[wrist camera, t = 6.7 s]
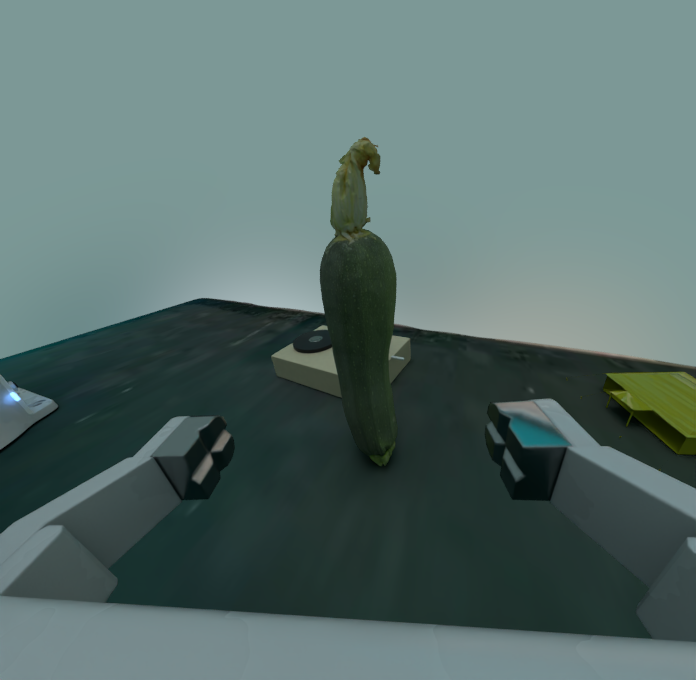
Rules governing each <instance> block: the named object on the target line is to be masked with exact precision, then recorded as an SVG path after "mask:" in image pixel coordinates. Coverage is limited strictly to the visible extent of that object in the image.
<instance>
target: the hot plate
mask: <svg viewBox="0 0 696 680" xmlns="http://www.w3.org/2000/svg"><path fill="white" fill-rule="evenodd" d="M316 330H328V328H327V326H323V325H322V326H321V327H319V328H317V329H316ZM316 330H314V331H316ZM271 357H272V361H273V364H274V367H275V371H276V374H277V376H279V377H282V378H285V379H288V380H291V381H294V382H297V383H299V384H302V385H305V386H308V387H311V388H314V389H317V390H320V391H323V392H326V393H329V394H332V395H335V396H338V397H341V390H340V384H339V379H338V374H337V370H336V365H335V361H334V356H333V350H332V348H330V349H327V350H325V351H322V352H317V353H300V352H297V351H295V350H294V348H293V343H292V344H290V345H289V346H287V347H285V348H284V349H282V350H280V351H279V352H277V353H275V354H273V355H272V356H271ZM410 360H411V351H410V338H405V337H398V336H392V339H391V344H390V348H389V378H390V384H391V383H392V381H393V380H394V379H395V378H396V377H397V375H398V374H399V373H400V372H401V371H402V369H403V368H404V367H405V366H406V365H407V363H408V362H409V361H410ZM341 398H342V397H341Z"/></svg>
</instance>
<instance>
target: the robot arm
mask: <svg viewBox="0 0 696 680" xmlns="http://www.w3.org/2000/svg"><path fill="white" fill-rule="evenodd" d="M57 407H58V405H57V404H56V403H55V402H54V401H53V400H51V399H48V398H46V397H43V396H40V395H37V394H35V393H32V392H29V391H27V390H24V389H21V388H18V386H17V385H16V384H15V383H14V382H13V383H12V382H11V381H9V382H6V380H5V379H4V378H3V377H2V376H1V375H0V449H2V448H3V447H5V446H6V445H8V444H9V443H10V442H12V441H13V440H14V439H16V438H17V437H18V436H19V435H21V434H22V433H23V432H24V431H25V430H26V429H27V428H29V427H30V426H31V425H32V424H34V423H35V422H36V421H38V420H40V419H41V418H43V417H45V416H46V415H48V414H49V413H51V412H52V411H54V410H55V409H56V408H57ZM487 414H488V416H489V418H490V420H491V421H490V422H489V423H488V424H487V425H486V428H485V439H486V445H487V448H488V451H489V454H490V456H491V458H492V460H493V461H494V462H496V463H497V464H498V465H500V466H501V472H500V476H501V478H502V480H503V482H504V484H505V486H506V488H507V490H508V492H509V494H510V496H511V498H512V500H540V501H550V503H551V504H552V505H553V506H554V507H556V508H557V509H558V510H559V511H560V512H561V513H563V514H564V515H565V516H566V517H567V518H568V519H570V520H571V521H572V522H573V523H574V524H575V525H577V526H578V527H579V528H580V529H581V530H582V531H584V532H585V533H586V534H587V535H588V536H589V537H591V538H592V539H593V540H594V541H595V542H596V543H598V544H599V545H600V546H601V547H602V548H603V549H605V550H606V551H607V552H608V553H609V554H610V555H612V556H613V557H614V558H615V559H616V560H617V561H619V562H620V563H621V564H622V565H623V566H624V567H626V568H627V569H628V570H629V571H630V572H631V573H633V574H634V575H635V576H636V577H637V578H638V579H640V580H641V581H642V582H643V583H644V584H645V585H647V586H648V587H649V588H650V589H649V590H648V591H647V593H646V594H645V595H644V597H643V598H642V600H641V601H640V602H639V604H638V606H637V609H636V614H637V616H638V617H639V619H640V620H641V622H642V623H643V625H644V626H645V628H646V629H647V631H648V633H649V634H650V636H651V637H652V639H644V638H629V637H614V636H599V635H584V634H569V633H554V632H539V631H524V630H509V629H494V628H479V627H464V626H449V625H434V624H419V623H404V622H389V621H374V620H359V619H344V618H329V617H314V616H299V615H284V614H269V613H253V612H238V611H223V610H208V609H193V608H178V607H163V606H148V605H133V604H117V603H105V602H106V601H107V599H108V598H109V596H110V595H111V593H112V592H113V590H114V589H115V587H116V586H117V580H118V579H117V578H116V577H115V576H114V575H113V574H112V573H111V572H110V571H109V570H108V568H110V567H111V566H112V565H113V564H114V563H115V562H116V561H117V560H118V559H119V558H121V557H122V556H123V555H124V554H125V553H126V552H127V551H128V550H129V549H130V548H132V547H133V546H134V545H135V544H136V543H137V542H138V541H139V540H140V539H141V538H142V537H144V536H145V535H146V534H147V533H148V532H149V531H150V530H151V529H152V528H153V527H155V526H156V525H157V524H158V523H159V522H160V521H161V520H162V519H163V518H164V517H166V516H167V515H168V514H169V513H170V512H171V511H172V510H173V509H174V508H175V507H177V506H178V505H179V504H180V503H181V502H182V501H181V500H199V499H209V497H210V495H211V494H212V492H213V490H214V489H215V487H216V485H217V483H218V482H219V480H220V471H221V470H223V469H224V468H225V467H226V466H228V465H229V463H230V461H231V459H232V457H233V453H234V448H235V446H234V440H233V437H232V435H231V434H230V433H228V432H227V431H226V430H225V428H226V426H227V424H226V422H225V420H224V418H223V417H222V416H219V415H210V416H178V417H175V418H172V419H171V420H170V421H169V422H168V423H167V424H166V425H165V426H164V427H163V428H162V429H161V430H160V431H159V432H158V433H157V434H156V435H155V436H154V437H153V438H152V439H151V440H150V441H149V442H148V443H147V444H146V445H145V446H144V447H143V448H142V449H141V450H140V451H139V452H138V453H137V454H136V455H135V456H134V457H133V458H127V459H125V460H123V461H121V462H120V463H118V464H116V465H114V466H113V467H111V468H109V469H107V470H106V471H104V472H102V473H100V474H99V475H97V476H95V477H93V478H91V479H90V480H88V481H86V482H84V483H83V484H81V485H79V486H77V487H76V488H74V489H72V490H70V491H69V492H67V493H65V494H63V495H62V496H60V497H58V498H56V499H55V500H53V501H51V502H49V503H48V504H46V505H44V506H42V507H41V508H39V509H37V510H35V511H34V512H32V513H30V514H28V515H27V516H25V517H23V518H21V519H19V520H18V521H16V522H14V523H13V524H12V525H11V526H9V527H8V528H7V529H6V530H5V531H4V532H2V533H1V534H0V680H696V489H695V488H693V487H691V486H689V485H687V484H685V483H683V482H681V481H679V480H676V479H674V478H672V477H670V476H668V475H666V474H664V473H662V472H660V471H658V470H656V469H654V468H652V467H650V466H648V465H646V464H644V463H642V462H639V461H637V460H635V459H633V458H631V457H629V456H627V455H625V454H623V453H621V452H619V451H617V450H615V449H613V448H611V447H609V446H600V445H599V444H598V443H597V442H596V441H595V440H594V439H593V438H592V437H591V436H590V435H589V434H588V433H587V432H586V431H585V430H584V429H583V428H582V427H581V426H580V425H579V424H578V423H577V422H576V421H575V420H574V419H573V418H572V417H571V416H570V415H569V414H568V413H567V412H566V411H565V410H564V409H563V408H562V407H561V406H560V405H559V404H558V403H557V402H556V401H554V400H552V399H537V400H529V401H508V402H490V404H489V406H488V411H487Z"/></svg>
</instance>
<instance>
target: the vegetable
mask: <svg viewBox="0 0 696 680" xmlns="http://www.w3.org/2000/svg"><path fill="white" fill-rule="evenodd" d="M375 146H376V147H378V146H377V145H373V144H372V143H371V142H370V140H369V139H368V138H366V137H364V138H362V139H361V140H360V139H359V140H358V142H355V143H354V144H353V146H351V148H350V150H349V151H348V152H347V154H346V155H344V156H343V157H342V158H341V159H340V160H339V162H340V163H341V164H342V166H341V167H340V168H339V170H338V171H337V172H336V174H337V176H336V178H335V180H334V183H333V188H332V206H331V220H330V222H331V225H332V227H333V228H334V229H335V230H336V233H335V238H334V239H333V240H332V241H331V242H330V243H329V245H328V246H327V247H326V250H325V252H324V255H323V258H322V261H321V266H320V284H321V292H322V300H323V305H324V311H325V317H326V322H327V328H328V332H329V335H330V339H331V343H332V350H333V356H334V361H335V365H336V370H337V374H338V379H339V384H340V390H341V397H342V404H343V408H344V412H345V416H346V419H347V422H348V425H349V427H350V430H351V432H352V435H353V438H354V440H355V443H356V445H357V446H358V448H359V449H360V450H361V451H362V452H363V453H364V454H366V455H368V456H369V457H370V458H371V460H372V461H374V462H375V463H376V464H378V465H379V466H382V464H384V466H385V465H386V464H387V463H388V461H389V458H390V456H391V455H392V450H393V449H394V448H395V439H396V437H397V422H396V417H395V410H394V403H393V395H392V389H391V384H390V378H389V348H390V344H391V339H392V334H393V327H394V312H395V303H396V272H395V267H394V263H393V259H392V256H391V254H390V251H389V249H388V247H387V246H386V244H385V243H384V242H383V241H382V239H381V238H379V237H378V236H377V235H375V234H373V233H372V232H370V231H369V230H365V229H362V227H363V226H364V225H365V224H366V223H367V222H370V217H369V218H366V217H367V196H366V185H365V180H364V173H363V169H364V167H365V166H366V165H367V162H368V160H369V161H370V164H369V165H368V167H369V169H370V170H372V171H374V174H380V171H379V166H380V155H379V154H377V149H376V148H375Z"/></svg>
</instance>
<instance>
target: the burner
mask: <svg viewBox="0 0 696 680" xmlns="http://www.w3.org/2000/svg"><path fill="white" fill-rule="evenodd" d="M293 348H294V350H295V351H297V352H300V353H317V352H322V351H325V350H327V349H330V348H332V343H331V339H330V335H329V332H328V330H316V331H311V332H308V333H305V334H302V335H300V336H299V337H297V338H296V339H295V340H294V341H293Z"/></svg>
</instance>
